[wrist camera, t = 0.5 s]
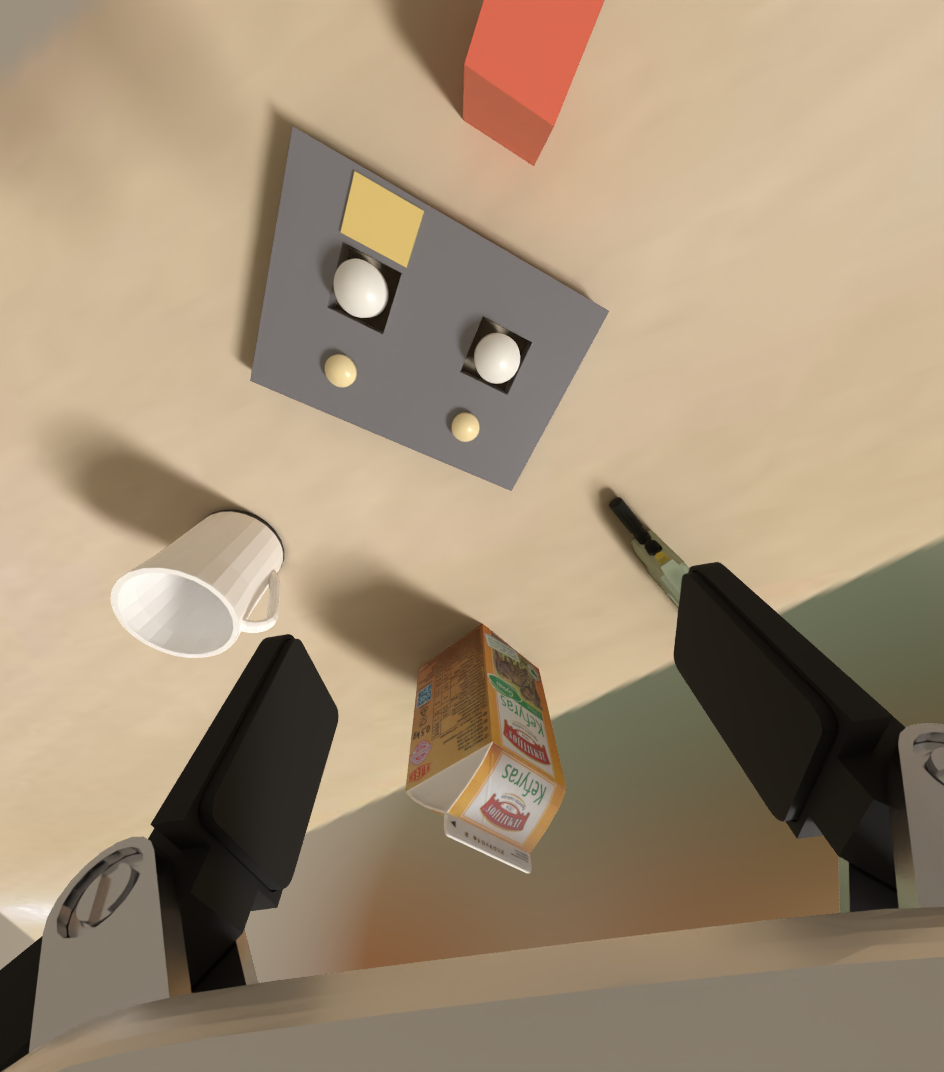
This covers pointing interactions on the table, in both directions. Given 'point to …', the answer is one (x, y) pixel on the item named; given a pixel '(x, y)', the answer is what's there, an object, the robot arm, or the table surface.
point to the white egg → (496, 358)
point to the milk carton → (485, 748)
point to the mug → (203, 587)
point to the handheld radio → (653, 552)
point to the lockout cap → (524, 68)
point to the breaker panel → (411, 321)
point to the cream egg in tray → (360, 288)
